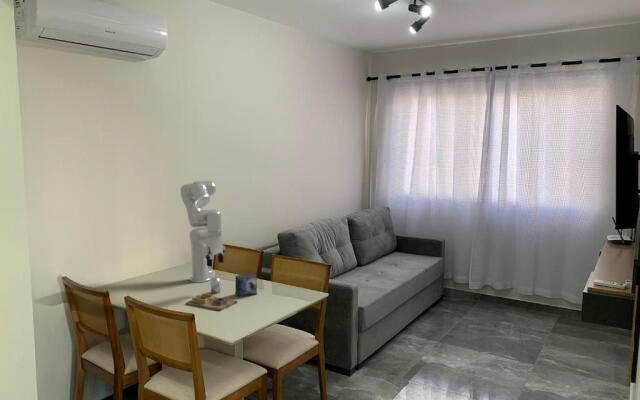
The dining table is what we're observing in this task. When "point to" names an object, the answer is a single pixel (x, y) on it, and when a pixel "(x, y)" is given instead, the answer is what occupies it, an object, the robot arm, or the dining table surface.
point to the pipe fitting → (215, 285)
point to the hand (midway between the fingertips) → (215, 264)
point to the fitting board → (210, 302)
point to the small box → (246, 285)
